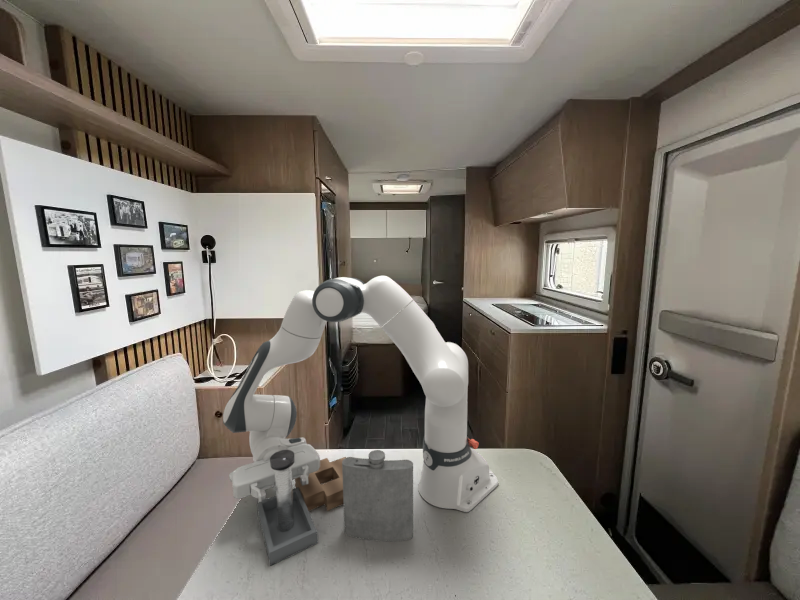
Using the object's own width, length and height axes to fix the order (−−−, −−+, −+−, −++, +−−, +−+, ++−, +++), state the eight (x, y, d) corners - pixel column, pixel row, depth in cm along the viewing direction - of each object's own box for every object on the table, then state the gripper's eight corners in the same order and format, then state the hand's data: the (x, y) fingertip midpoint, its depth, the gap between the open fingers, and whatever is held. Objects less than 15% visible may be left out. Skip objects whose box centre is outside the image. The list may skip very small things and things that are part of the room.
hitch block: (342, 464, 99) (342, 452, 98) (364, 495, 86) (363, 481, 86) (293, 482, 91) (292, 469, 90) (308, 519, 78) (307, 504, 78)
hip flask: (413, 528, 76) (413, 449, 73) (412, 544, 72) (412, 461, 69) (346, 524, 77) (343, 446, 74) (341, 539, 73) (338, 457, 70)
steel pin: (294, 513, 80) (291, 447, 77) (300, 528, 75) (296, 458, 73) (272, 522, 77) (268, 454, 74) (276, 538, 73) (272, 466, 70)
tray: (298, 497, 86) (298, 487, 85) (317, 543, 72) (317, 531, 72) (257, 513, 80) (257, 502, 80) (270, 565, 67) (269, 553, 66)
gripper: (227, 460, 80) (232, 495, 68) (310, 435, 90) (326, 462, 79) (229, 483, 81) (234, 522, 69) (311, 456, 91) (327, 485, 80)
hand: (284, 490), depth 74 cm, fingers open, 8 cm apart
